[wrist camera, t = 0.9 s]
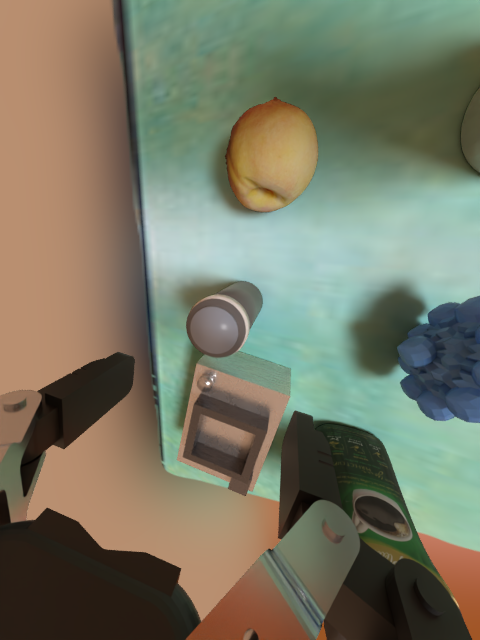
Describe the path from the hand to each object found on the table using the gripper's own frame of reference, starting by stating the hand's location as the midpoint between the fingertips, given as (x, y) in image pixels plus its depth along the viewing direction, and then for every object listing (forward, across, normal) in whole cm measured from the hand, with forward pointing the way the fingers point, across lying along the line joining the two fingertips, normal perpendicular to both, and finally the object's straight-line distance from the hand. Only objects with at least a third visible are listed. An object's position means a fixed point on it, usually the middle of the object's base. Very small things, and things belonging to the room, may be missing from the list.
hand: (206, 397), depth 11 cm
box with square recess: (+19, 0, +15) cm, 24 cm away
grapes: (+19, -17, -2) cm, 25 cm away
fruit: (+19, +2, -14) cm, 24 cm away
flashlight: (+19, +2, 0) cm, 19 cm away
